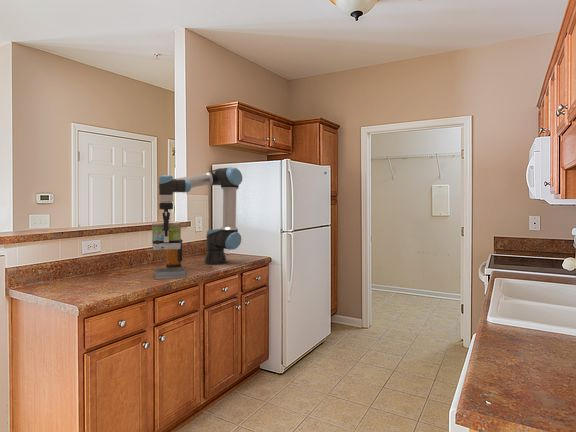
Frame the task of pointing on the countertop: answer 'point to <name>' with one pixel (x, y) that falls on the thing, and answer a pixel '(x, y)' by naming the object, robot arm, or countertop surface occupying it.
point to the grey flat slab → (170, 273)
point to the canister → (174, 257)
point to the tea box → (159, 236)
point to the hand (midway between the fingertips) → (166, 241)
